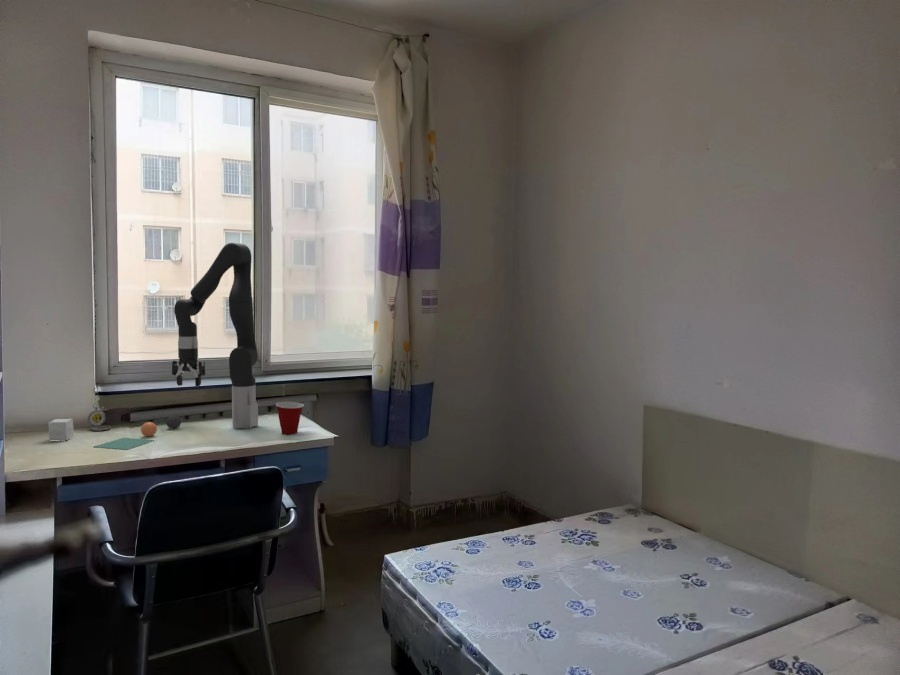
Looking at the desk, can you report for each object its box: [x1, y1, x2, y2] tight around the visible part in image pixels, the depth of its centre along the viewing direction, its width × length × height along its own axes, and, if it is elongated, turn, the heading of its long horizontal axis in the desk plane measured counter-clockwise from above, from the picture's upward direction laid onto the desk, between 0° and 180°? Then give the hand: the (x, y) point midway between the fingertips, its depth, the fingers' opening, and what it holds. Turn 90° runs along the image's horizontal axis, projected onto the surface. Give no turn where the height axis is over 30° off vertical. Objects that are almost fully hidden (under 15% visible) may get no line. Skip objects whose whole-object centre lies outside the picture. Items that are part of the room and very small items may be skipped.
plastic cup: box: [275, 401, 305, 435], centre depth 236 cm, size 11×11×12 cm
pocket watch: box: [87, 403, 112, 432], centre depth 240 cm, size 8×8×10 cm
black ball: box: [165, 414, 182, 429], centre depth 243 cm, size 6×6×6 cm
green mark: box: [93, 437, 155, 451], centre depth 218 cm, size 14×14×1 cm
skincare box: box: [47, 418, 75, 442], centre depth 223 cm, size 6×6×7 cm
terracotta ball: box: [140, 421, 158, 437], centre depth 229 cm, size 6×6×6 cm
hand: (188, 385), depth 251 cm, fingers open, 8 cm apart
